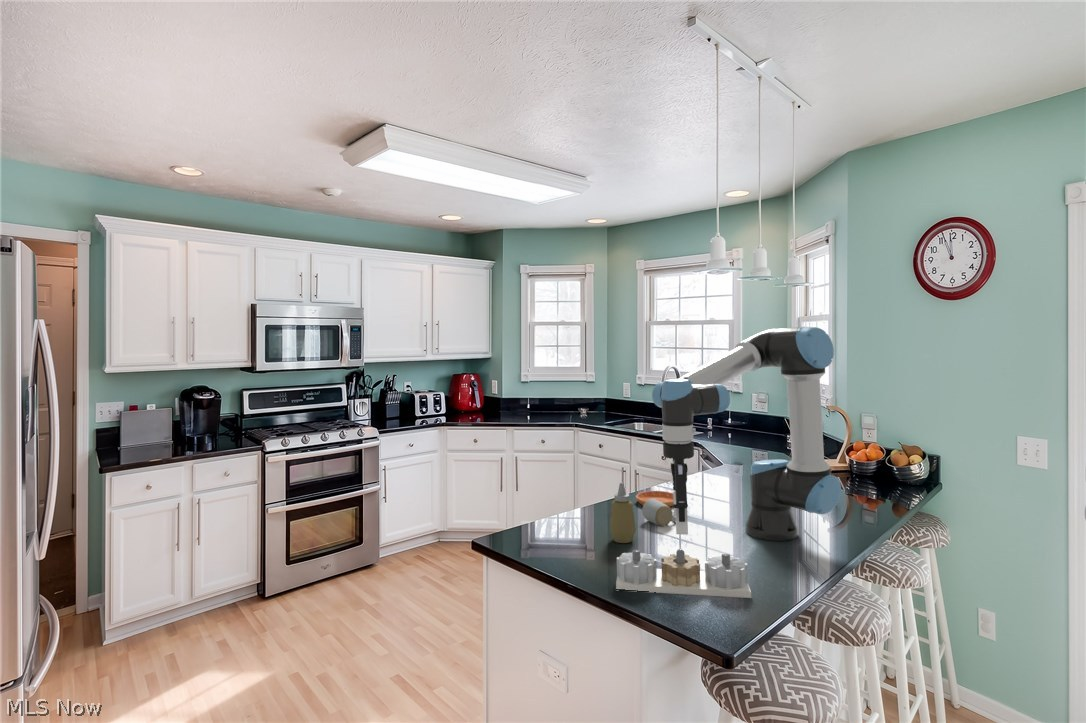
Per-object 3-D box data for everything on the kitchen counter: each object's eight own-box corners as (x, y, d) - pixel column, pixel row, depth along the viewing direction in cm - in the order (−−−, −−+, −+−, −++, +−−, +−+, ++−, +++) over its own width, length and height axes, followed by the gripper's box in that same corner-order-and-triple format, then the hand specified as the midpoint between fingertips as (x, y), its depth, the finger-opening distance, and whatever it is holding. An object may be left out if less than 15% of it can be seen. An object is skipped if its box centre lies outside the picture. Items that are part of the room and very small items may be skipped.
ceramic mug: (656, 528, 184) (656, 505, 183) (641, 521, 191) (641, 499, 191) (682, 524, 188) (682, 501, 188) (666, 517, 196) (666, 495, 195)
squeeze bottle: (619, 547, 168) (618, 487, 168) (604, 539, 175) (603, 482, 175) (641, 541, 172) (640, 484, 171) (625, 534, 179) (624, 478, 179)
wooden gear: (661, 570, 147) (661, 553, 146) (698, 572, 145) (697, 554, 145) (662, 585, 137) (661, 567, 137) (701, 587, 136) (701, 569, 136)
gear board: (743, 578, 144) (743, 544, 143) (751, 598, 133) (750, 560, 132) (618, 572, 150) (617, 539, 149) (616, 590, 139) (615, 554, 139)
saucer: (680, 510, 203) (680, 502, 203) (635, 509, 206) (635, 501, 206) (677, 498, 219) (677, 491, 219) (636, 497, 222) (636, 490, 222)
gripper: (697, 451, 127) (700, 542, 128) (690, 432, 152) (692, 509, 152) (664, 451, 129) (666, 541, 129) (661, 432, 153) (664, 509, 154)
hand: (680, 524), depth 141 cm, fingers open, 13 cm apart
